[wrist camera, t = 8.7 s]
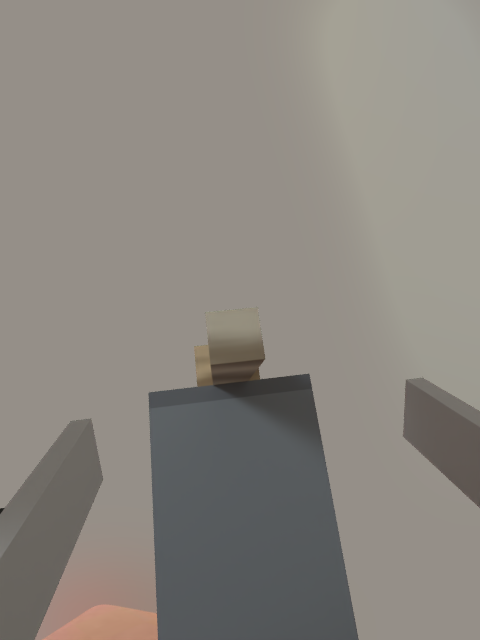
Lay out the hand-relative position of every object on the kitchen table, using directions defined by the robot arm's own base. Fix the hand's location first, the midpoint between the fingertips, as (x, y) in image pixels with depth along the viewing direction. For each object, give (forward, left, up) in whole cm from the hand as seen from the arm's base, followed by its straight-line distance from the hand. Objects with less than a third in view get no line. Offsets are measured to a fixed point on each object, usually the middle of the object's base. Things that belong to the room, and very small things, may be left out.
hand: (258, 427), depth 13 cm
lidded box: (0, +24, -28) cm, 37 cm away
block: (0, +18, +4) cm, 18 cm away
